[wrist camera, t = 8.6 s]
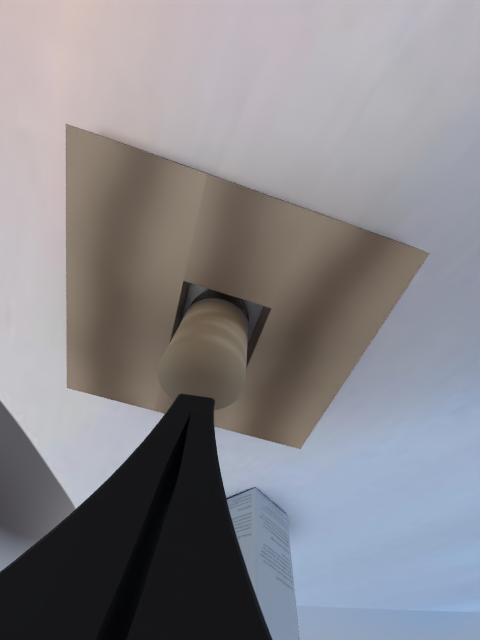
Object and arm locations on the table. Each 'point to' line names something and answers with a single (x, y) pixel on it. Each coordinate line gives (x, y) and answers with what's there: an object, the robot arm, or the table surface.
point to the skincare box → (267, 559)
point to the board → (216, 284)
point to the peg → (208, 351)
